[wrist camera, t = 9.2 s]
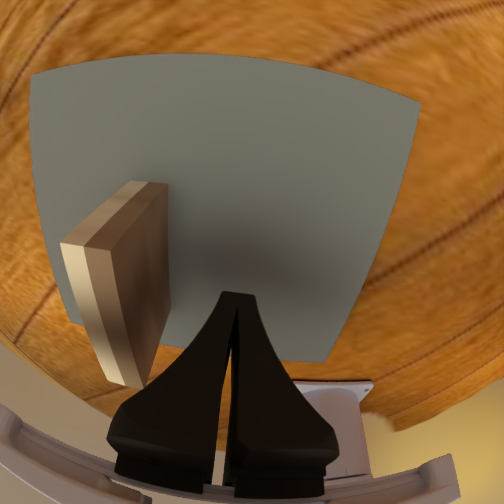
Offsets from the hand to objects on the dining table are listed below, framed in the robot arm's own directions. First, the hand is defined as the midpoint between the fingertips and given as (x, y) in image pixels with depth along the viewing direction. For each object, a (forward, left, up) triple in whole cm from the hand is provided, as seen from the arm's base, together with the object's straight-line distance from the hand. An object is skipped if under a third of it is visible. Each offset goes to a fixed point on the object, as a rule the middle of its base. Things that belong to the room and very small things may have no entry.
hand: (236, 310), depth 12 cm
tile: (0, +5, -4) cm, 6 cm away
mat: (+1, +3, -4) cm, 5 cm away
